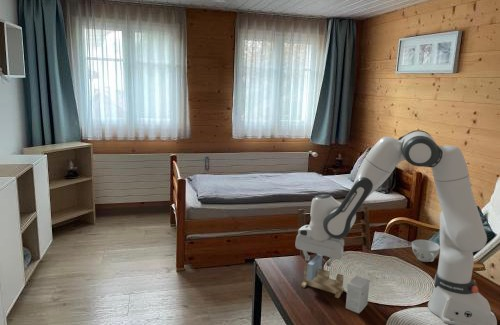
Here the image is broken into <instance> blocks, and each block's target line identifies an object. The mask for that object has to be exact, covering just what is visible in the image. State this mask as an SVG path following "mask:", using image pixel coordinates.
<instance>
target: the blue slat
mask: <svg viewBox="0 0 500 325" xmlns="http://www.w3.org/2000/svg"><path fill="white" fill-rule="evenodd" d="M307 265H308V267H307V280H308V281H312V280H313V279H314V278H315V276H316V275H317V270H318V269H322V268H323V267H322V265H323V255H320V254H316V255H315V256H314V257H313V258H312V259H310V260H309V262H308V263H307Z"/></svg>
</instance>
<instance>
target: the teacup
mask: <svg viewBox="0 0 500 325" xmlns="http://www.w3.org/2000/svg"><path fill="white" fill-rule="evenodd" d="M411 248H412V249H411V250H412V252H413V254H414V256H415V257H416V259H417V260H419V261H420V262H422V263H429V262H431V263H432V262H434V261H435V259H436V258H437V257H438V256H439V255H440V244H438V243H436V242H435V241H431V240H428V239H415V240H413V241H411Z"/></svg>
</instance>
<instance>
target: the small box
mask: <svg viewBox="0 0 500 325" xmlns="http://www.w3.org/2000/svg"><path fill="white" fill-rule="evenodd" d="M370 282H371V281H370V279H367V278H365V277H362V276H359V275H355V276H354V277H353V278H352V279H351V280H350V281H349V282H348V283H347V285H346V286H347V287H346V288H347V289H346V300H345V309H347V310H349V311H351V312H354V313H356V314H360V313H361V312H362V311H363V310H364V309H365V308H366V306H368V301H369V294H370V293H369V291H370V284H371V283H370Z"/></svg>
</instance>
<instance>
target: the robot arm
mask: <svg viewBox="0 0 500 325" xmlns="http://www.w3.org/2000/svg"><path fill="white" fill-rule="evenodd" d="M403 161H407V163H408V164H410V165H412V166H415V167H419V168H420V167H421V168H423V167H424V168H431V171H432V175H433V181H434V185H435V191H436V195H437V196H436V197H437V200H438V203H439V206H440V208H441V210H440V213H439V216H438V218H439V246H440V251H439V255H438V256H439V258H438V263H437V264H438V265H437V270H436V271H435V276H434V281H433V282H434V283H433V284H434V286H433V287H434V288H433V291H432V294H431V297H430V299H429V300H428V303H427V307H428V309H429V310H430V311H431V313H433V314H435V316H437V317H439V318H440V319H441V320H442V321H443V323H445V324H448V325H498V321H497V317H496V315H495V313H494V312H492V311H491V310H492V309H491V306H490V303H489V301H488V299H487V298H485V297H484V296H483V295H482V294H481V293H480V292H479V287H478V284H477V282H476V280H475V279H472V275H473V269H474V262H475V260H474V259H475V258H474V253H475V252H478V251H480V250H482V249H483V248H485V246H486V245H487V243H488V242H487V241H488V237H487V236H488V235H487V233H486V230H485V227H484V225H483V220H482V217H481V214H480V212H479V208H478V206H477V203H476V200H475V197H474V194H473V189H472V183H471V180H470V173H469V168H468V166H467V163H466V159H465V157H464V155H463V151H462V150H461V149H460V148H459V147H458V146H455V145H453V144H452V145H451V144H450V145H448V144H446V145H439V144H437V143H436V141H435V139H434V137H432V136H431V134H430V133H428V132H427V131H424V130H421V129H418V130H412V131H410V132H408V133H406V134H405V135H402V136H400V137H399V138H398V139H397V138H395V137H392V136H383V137H381V138H380V139H379V140H378V141H377V142H376V143H375V144H374V145H373V146H372V147H371V149H370V150H369V152H368V153H366V156H365V157H364V159H363V160H362V161H361V164H360V166H359V168H358V170H357V173H356V176H355V177H354V181H353V183H352V185H351V187H350V190H349V192H347V194H346V196H345V198H344V199H343V201H342V202H340V201H339V200H337V199H335V198H334V197H333V196H332V195H331V194H328V193H321V194H317V195H315V196H314V197H313V198H312V199H311V205H310V214H309V215H310V222H309V224H305V225H303V226H301V227H300V228H298V231H297V235H296V238H295V243H294V244H295V246H294V247H295V248H296V249H297V250H301V251H302V253H303V255H304V257H305V258H304V260H305V261H309V262H310V261H311V255H309V254H308V253H312V254H316V255H317V254H320V255H323V256H324V257H328V258H329V260H327V261H326V266H327V267H328V268H330V267H331V266H332V262H333V261H334V260H335V259H336V260H341V259H342V258H343V257H344V247H345V240H344V238H346V237H347V236H348V234H349V233H350V231H351V229H352V227H353V225H354V224H355V222H356V220H357V212H358V211H359V209H360V208H361V206H362V205H363V204H364V202H365V201H366V200H367V198H369V197H370V195H372V194H373V193H374V192H375V191H376V190H378V188H379V187H380V186H382V185H383V184H384V182H386V181H387V179H388V178H389V177H390V176H391V174H392V173H394V172H393V171H394V170H395V168H396V167H397V166H398V165H399V164H400V163H401V162H403ZM323 256H322V257H323Z"/></svg>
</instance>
